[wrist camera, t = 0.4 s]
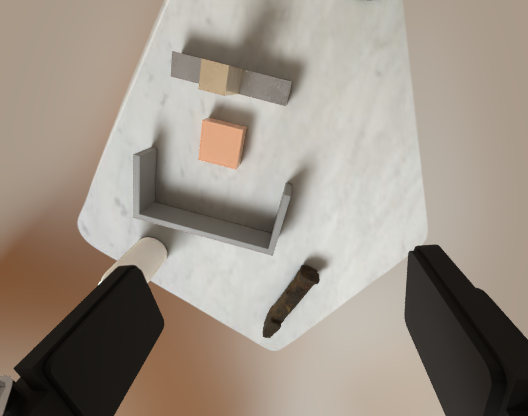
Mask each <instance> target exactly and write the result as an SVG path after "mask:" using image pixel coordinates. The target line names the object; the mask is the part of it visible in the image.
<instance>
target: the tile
mask: <svg viewBox="0 0 528 416" xmlns="http://www.w3.org/2000/svg"><path fill="white" fill-rule="evenodd" d="M246 129H247V127H245V126H241V125H237V124H233V123H229V122H225V121H220V120H216V119H212V118H206V119H204V120H202V130H201V140H200V150H199V160H201V161H205V162H209V163H213V164H217V165H221V166H225V167H229V168H233V169H237V168H238V167H239V165H240V163H241V157H242V151H243V146H244V140H245V134H246Z"/></svg>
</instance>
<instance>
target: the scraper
mask: <svg viewBox="0 0 528 416" xmlns="http://www.w3.org/2000/svg"><path fill="white" fill-rule="evenodd" d="M171 76H172V77H175V78H179V79H183V80H187V81H191V82H195V83H199V88H198V89H201V90H204V91H208V92H212V93H216V94H220V95H224V96H226V95H234V94H241V95H245V96H249V97H253V98H257V99H260V100H264V101H268V102H272V103H276V104H280V105H284V106H286V105H287V101H288V97H289V93H290V89H291V85H292V82H291V81H287V80H283V79H279V78H275V77H272V76H268V75H264V74H260V73H256V72H252V71H248V70H244V69H241V68H237V67H233V66H229V65H226V64H222V63H218V62H214V61H210V60H206V59H201V58H198V57H194V56H190V55H186V54H182V53H178V52H174V51H172V65H171Z"/></svg>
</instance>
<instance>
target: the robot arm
mask: <svg viewBox="0 0 528 416" xmlns="http://www.w3.org/2000/svg"><path fill="white" fill-rule="evenodd" d="M367 1H370V0H367ZM407 267H408V268H407V282H406V298H405V322H406V326H407V328H408V331H409V333H410V335H411V337H412V340H413V342H414V344H415V346H416V349H417V351H418V353H419V356H420V358H421V360H422V363H423V365H424V367H425V369H426V372H427V374H428V376H429V378H430V381H431V383H432V385H433V388H434V390H435V392H436V395H437V397H438V399H439V401H440V404H441V406H442V408H443V411H444V413H445V415H446V416H528V339H527V338H526V337H525V336H524V335H523V334H522V333H521V332H520V330H519V329H518V328H517V327H516V326H515V325H514V324H513V323H512V321H511V320H510V319H509V318H508V317H507V316H506V315H505V314H504V312H503V311H501V309H500V308H499V307H498V306H497V305H496V303H495V302H494V301H493V300H492V299H491V298H490V297H489V296H488V295H487V294H486V293H485V292H484V291H483V290H481V289H479V288H475V287H474V286H473V285H472V283H471V282H470V281H469V280H468V279H467V278H466V276H465V275H464V274H463V273H462V272H461V271H460V269H459V268H458V267H457V266H456V265H455V264H454V263H453V261H452V260H451V259H450V258H449V257H448V255H447V254H446V253H445V252H444V251H443V250H442V249H441V247H440V246H439V245H422V246H416V247H415V249H414V251H409V253H408V266H407ZM163 328H164V319H163V317H162V315H161V313H160V310H159V308H158V306H157V303H156V301H155V299H154V297H153V295H152V292H151V290H150V288H149V286H148V283H147V281H146V279H145V277H144V274H143V272H142V270H141V269H139V268H138V267H137V266H136V265H123V266H118V267H117V268H115V269H114V270H113V271H112V272H111V273H110V274H109V275H108V276H107V277H106V278H105V279H104V280H103V281H102V282H101V283H100V284H99V285H98V286H97V287H96V288H95V289H94V290H93V291H92V292H91V293H90V294H89V295H88V296H87V297H86V298H85V299H84V300H83V301H82V302H81V303H80V304H79V305H78V306H77V307H76V308H75V309H74V310H73V311H72V312H71V313H70V314H69V315H67V316H66V317H65V318H64V319H63V320H62V322H60V323H59V324H58V325H57V326H56V327H55V328H54V329H53V330H52V331H51V332H50V333H49V334H48V335H47V336H46V337H45V338H44V339H43V340H42V341H41V342H40V343H39V344H38V345H37V346H36V347H35V348H34V349H33V350H32V351H31V352H30V353H29V354H28V355H27V356H26V357H25V358H24V359H23V360H22V361H21V362H19V364H17V365H16V366H15V367H14V370H15V371H16V372H17V373H18V374H19V375H20V378H19V379H18V381H17V382H15V381H14V380H13V379H12V378H11V377H10V376H7V375H3V376H0V416H114V414H115V413H116V411H117V409H118V407H119V406H120V404H121V402H122V400H123V399H124V397H125V395H126V393H127V392H128V390H129V388H130V386H131V385H132V383H133V381H134V379H135V378H136V376H137V374H138V372H139V371H140V369H141V367H142V365H143V364H144V362H145V360H146V358H147V357H148V355H149V353H150V351H151V350H152V348H153V346H154V344H155V343H156V341H157V339H158V337H159V336H160V334H161V332H162V330H163Z"/></svg>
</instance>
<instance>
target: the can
mask: <svg viewBox="0 0 528 416" xmlns="http://www.w3.org/2000/svg"><path fill="white" fill-rule="evenodd" d="M166 258H167V250H166V248H165V246H164V245H163V244H162V243H161V242H160V241H159V240H157V239H155V238H150V237H145V238H142V239H140V240H139V241H138V242H137V243H136V244H135V245H134V246H133V247H131V248H130V249H129V250H128V251H127V252H126V253H125V254H124V255H123V256H122V257H121V258H120V259H119V260H118V261H117V262H116V263H115V264H114V265H113V266H112V267H111V268H110V269H109V270H108V271H107V272H106V273H105V274H104V275H103V277H102V280H101V281H100V282H99V284H100V283H101V282H102V281H103V280H104V279H105V278H106V277H107V276H108V275H109V274H110V273H111V272H112V271H113V270H114V269H115V268H117V267H118V266H123V265H136V266H137V267H138V268H139V269H141V270H142V272H143V274H144V277H145V279H146V281H147V283H148V282H149V281H150V280H151V278H152V277H153V276H154V275H155V273H156V272H157V271H158V269H159V268H160V267H161V265H162V264H163V263H164V261H165V260H166ZM99 284H98V285H99Z"/></svg>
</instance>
